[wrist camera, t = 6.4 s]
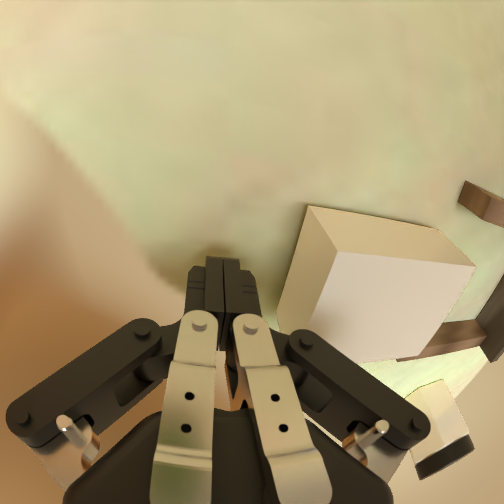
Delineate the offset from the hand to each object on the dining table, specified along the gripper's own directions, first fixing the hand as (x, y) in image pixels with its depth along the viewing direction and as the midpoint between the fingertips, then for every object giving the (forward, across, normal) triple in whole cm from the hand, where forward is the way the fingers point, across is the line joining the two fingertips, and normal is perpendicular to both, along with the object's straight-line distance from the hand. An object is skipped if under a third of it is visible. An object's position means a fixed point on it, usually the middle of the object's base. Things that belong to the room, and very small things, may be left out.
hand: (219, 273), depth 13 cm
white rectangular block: (+2, -8, 0) cm, 9 cm away
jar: (+2, -29, +21) cm, 36 cm away
